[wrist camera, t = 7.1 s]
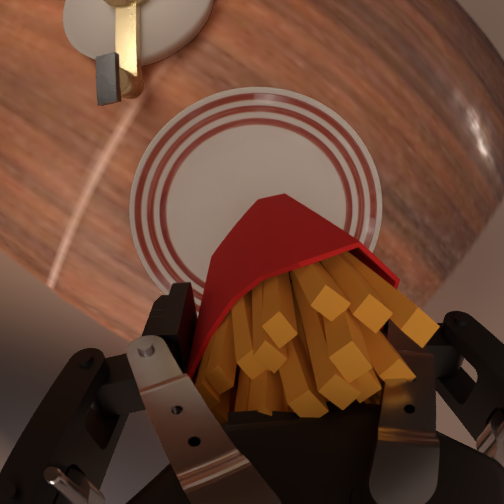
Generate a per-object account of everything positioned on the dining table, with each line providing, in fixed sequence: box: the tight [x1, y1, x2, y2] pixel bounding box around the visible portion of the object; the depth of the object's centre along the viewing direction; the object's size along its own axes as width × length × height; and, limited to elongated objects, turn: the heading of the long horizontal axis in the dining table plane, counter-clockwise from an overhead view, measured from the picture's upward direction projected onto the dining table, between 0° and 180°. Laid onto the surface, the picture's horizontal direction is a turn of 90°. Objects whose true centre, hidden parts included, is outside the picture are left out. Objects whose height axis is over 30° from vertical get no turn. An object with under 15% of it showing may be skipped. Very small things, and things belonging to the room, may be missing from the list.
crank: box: [96, 0, 148, 106], centre depth 19 cm, size 16×5×7 cm, turn 4°
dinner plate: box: [129, 87, 382, 317], centre depth 33 cm, size 27×27×3 cm
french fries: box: [187, 193, 440, 424], centre depth 12 cm, size 8×4×12 cm, turn 141°
